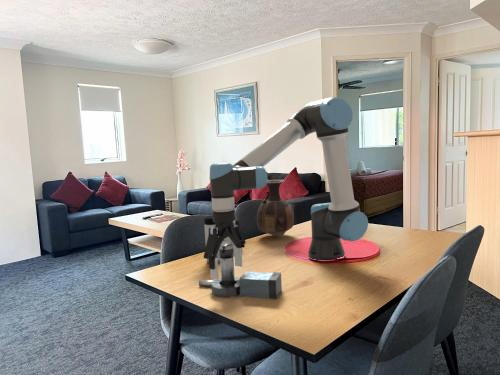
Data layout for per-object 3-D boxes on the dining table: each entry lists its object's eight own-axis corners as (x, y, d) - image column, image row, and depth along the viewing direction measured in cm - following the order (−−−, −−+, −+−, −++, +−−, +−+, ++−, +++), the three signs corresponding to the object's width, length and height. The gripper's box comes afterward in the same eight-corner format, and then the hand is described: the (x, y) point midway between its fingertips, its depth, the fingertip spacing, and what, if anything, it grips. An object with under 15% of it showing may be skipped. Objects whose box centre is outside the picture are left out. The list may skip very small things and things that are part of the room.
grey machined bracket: (283, 288, 127) (282, 270, 127) (275, 301, 117) (274, 282, 116) (203, 283, 137) (201, 266, 136) (189, 294, 126) (187, 276, 126)
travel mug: (219, 264, 158) (216, 217, 156) (204, 263, 159) (201, 217, 157) (223, 259, 164) (221, 214, 162) (209, 259, 165) (206, 214, 163)
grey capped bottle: (227, 287, 131) (224, 242, 129) (238, 289, 128) (235, 244, 127) (219, 292, 127) (216, 246, 125) (230, 294, 125) (227, 247, 123)
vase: (257, 232, 211) (255, 179, 208) (292, 231, 210) (290, 177, 207) (257, 243, 188) (254, 183, 185) (296, 241, 187) (293, 181, 184)
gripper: (236, 203, 137) (239, 260, 139) (189, 216, 116) (194, 282, 119) (253, 204, 133) (256, 262, 135) (208, 217, 112) (212, 286, 115)
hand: (227, 271), depth 127 cm, fingers open, 13 cm apart
